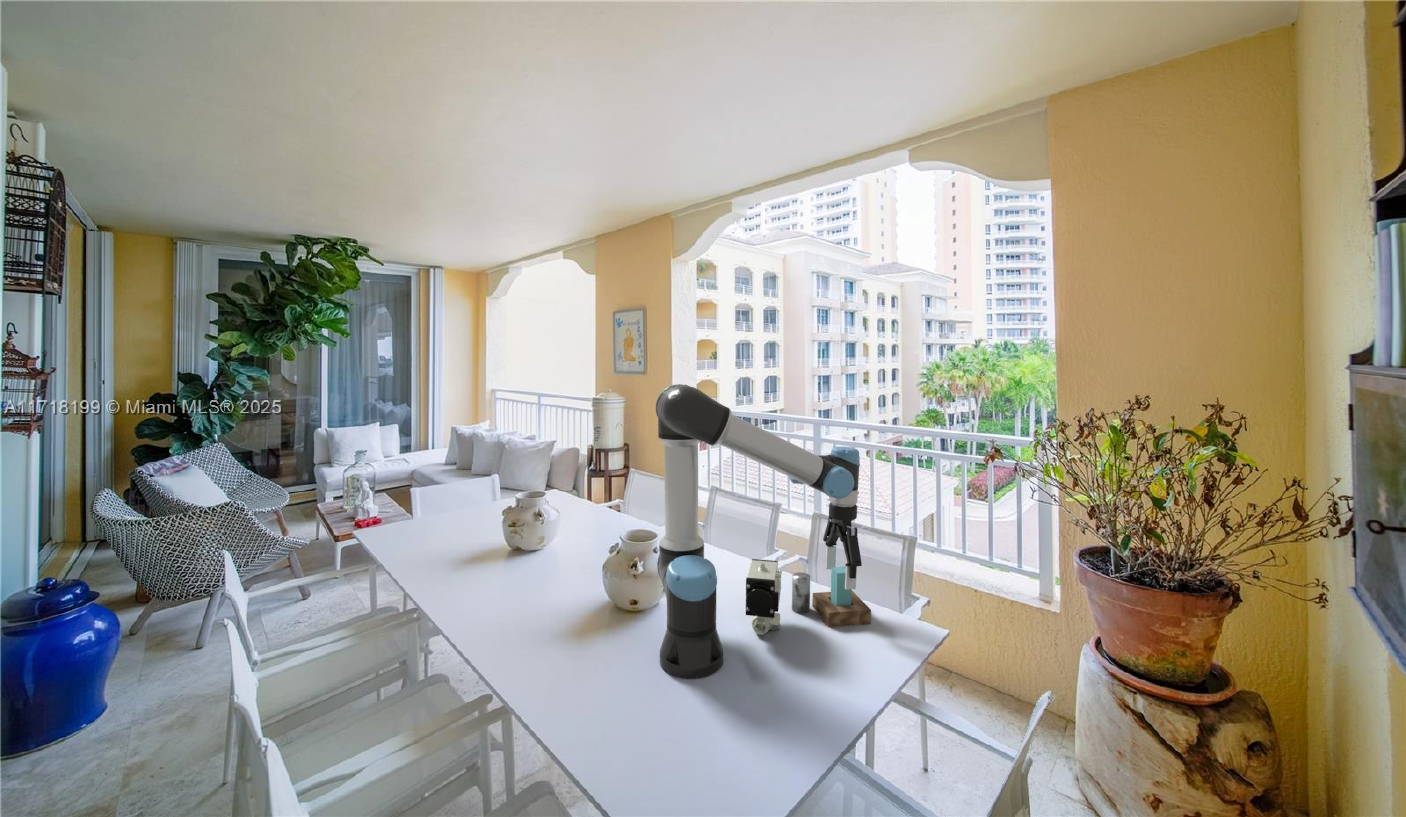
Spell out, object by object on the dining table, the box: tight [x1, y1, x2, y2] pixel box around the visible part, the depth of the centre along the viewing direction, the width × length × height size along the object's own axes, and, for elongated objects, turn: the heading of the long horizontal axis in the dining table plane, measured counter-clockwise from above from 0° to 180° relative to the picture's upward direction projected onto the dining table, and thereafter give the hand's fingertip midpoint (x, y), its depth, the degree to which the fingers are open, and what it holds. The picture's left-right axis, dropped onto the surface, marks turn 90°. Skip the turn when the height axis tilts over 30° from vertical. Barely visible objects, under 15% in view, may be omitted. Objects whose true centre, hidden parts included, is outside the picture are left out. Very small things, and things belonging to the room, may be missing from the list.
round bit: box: [791, 571, 811, 615], centre depth 147 cm, size 5×5×10 cm
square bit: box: [830, 566, 853, 606], centre depth 144 cm, size 4×4×13 cm
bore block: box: [811, 590, 872, 628], centre depth 144 cm, size 12×12×4 cm
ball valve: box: [745, 558, 783, 636], centre depth 136 cm, size 18×8×18 cm, turn 168°
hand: (839, 578), depth 143 cm, fingers open, 13 cm apart
